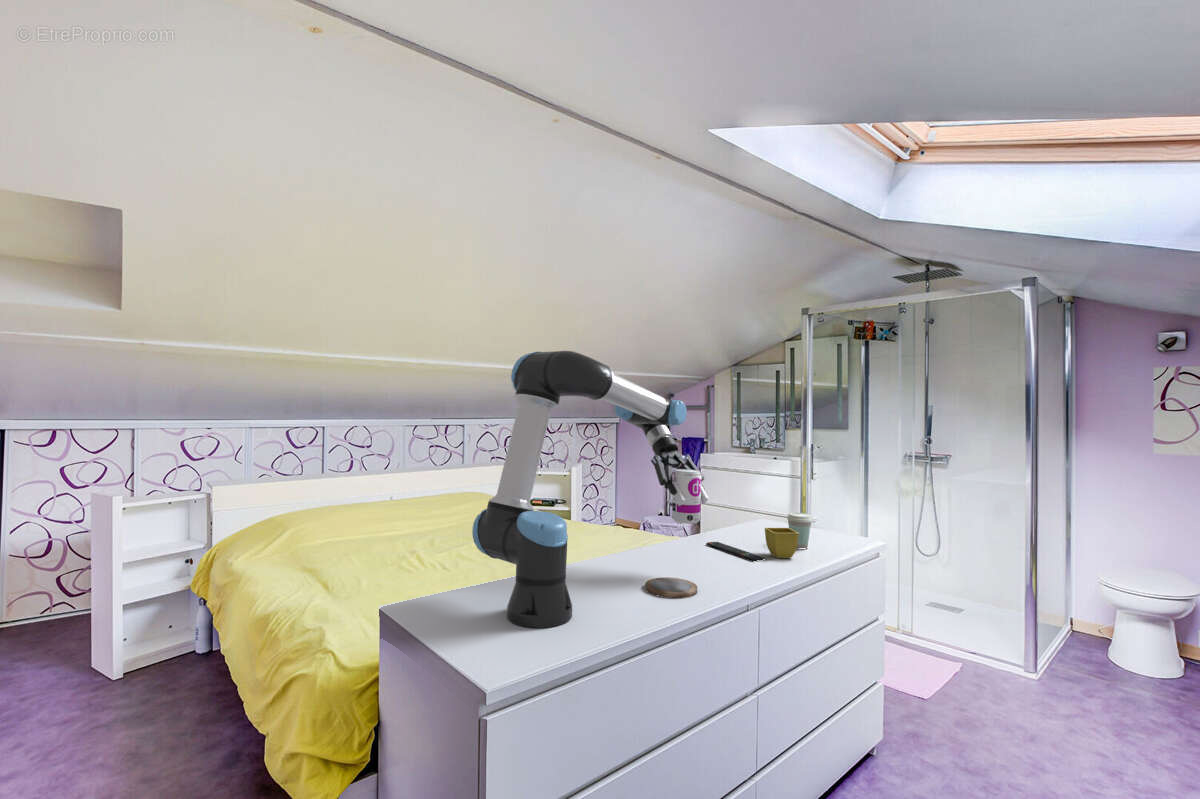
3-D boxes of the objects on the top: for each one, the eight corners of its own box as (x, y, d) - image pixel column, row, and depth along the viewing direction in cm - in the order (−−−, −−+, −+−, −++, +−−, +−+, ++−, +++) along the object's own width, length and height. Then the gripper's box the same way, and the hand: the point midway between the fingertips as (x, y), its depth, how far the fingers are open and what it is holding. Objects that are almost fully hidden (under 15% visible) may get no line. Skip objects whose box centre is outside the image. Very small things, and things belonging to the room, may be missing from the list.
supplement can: (705, 522, 169) (707, 471, 169) (685, 525, 164) (686, 472, 164) (686, 517, 176) (688, 468, 176) (666, 519, 171) (668, 469, 171)
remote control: (752, 563, 187) (752, 559, 187) (705, 546, 208) (705, 542, 208) (764, 561, 189) (764, 557, 189) (716, 545, 210) (716, 541, 210)
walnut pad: (666, 601, 146) (666, 596, 146) (635, 585, 158) (635, 581, 158) (708, 593, 153) (708, 588, 154) (675, 579, 166) (675, 574, 166)
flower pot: (763, 553, 199) (764, 527, 199) (787, 553, 200) (788, 527, 200) (773, 560, 190) (774, 532, 190) (799, 560, 191) (799, 532, 191)
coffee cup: (807, 545, 212) (808, 512, 212) (814, 551, 203) (815, 517, 204) (784, 544, 213) (784, 511, 213) (789, 549, 204) (790, 516, 204)
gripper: (683, 450, 189) (714, 507, 175) (629, 451, 178) (659, 511, 164) (694, 435, 184) (727, 492, 170) (640, 435, 174) (671, 496, 160)
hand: (693, 502), depth 167 cm, fingers closed on supplement can, 8 cm apart
